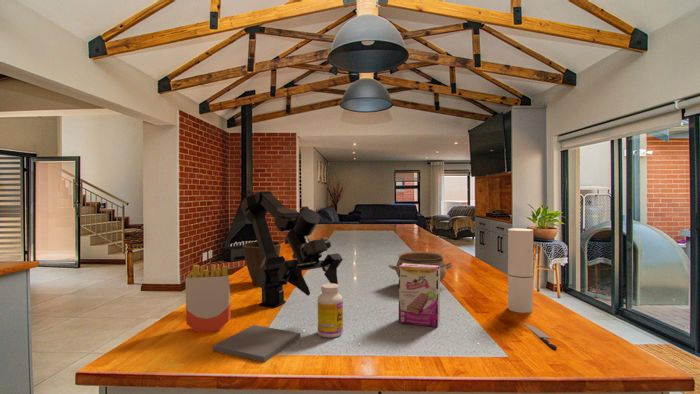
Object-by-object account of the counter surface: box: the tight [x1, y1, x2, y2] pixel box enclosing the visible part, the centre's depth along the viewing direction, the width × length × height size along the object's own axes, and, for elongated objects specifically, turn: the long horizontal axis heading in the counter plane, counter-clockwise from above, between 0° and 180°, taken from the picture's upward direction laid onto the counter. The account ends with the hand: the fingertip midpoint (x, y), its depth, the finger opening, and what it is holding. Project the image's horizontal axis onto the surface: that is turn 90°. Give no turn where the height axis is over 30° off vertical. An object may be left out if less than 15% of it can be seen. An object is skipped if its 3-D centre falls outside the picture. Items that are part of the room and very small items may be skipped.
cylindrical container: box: [507, 227, 534, 314], centre depth 119 cm, size 7×7×25 cm
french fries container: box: [185, 264, 232, 333], centre depth 105 cm, size 5×11×18 cm, turn 99°
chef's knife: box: [523, 322, 558, 351], centre depth 100 cm, size 19×1×3 cm
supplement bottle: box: [317, 282, 344, 339], centre depth 101 cm, size 7×7×13 cm
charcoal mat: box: [212, 324, 301, 363], centre depth 95 cm, size 15×15×1 cm
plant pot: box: [242, 241, 282, 286], centre depth 154 cm, size 15×15×16 cm
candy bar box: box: [398, 263, 441, 328], centre depth 108 cm, size 11×5×16 cm, turn 71°
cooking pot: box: [388, 250, 453, 282], centre depth 147 cm, size 25×19×12 cm
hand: (323, 291), depth 103 cm, fingers open, 9 cm apart
